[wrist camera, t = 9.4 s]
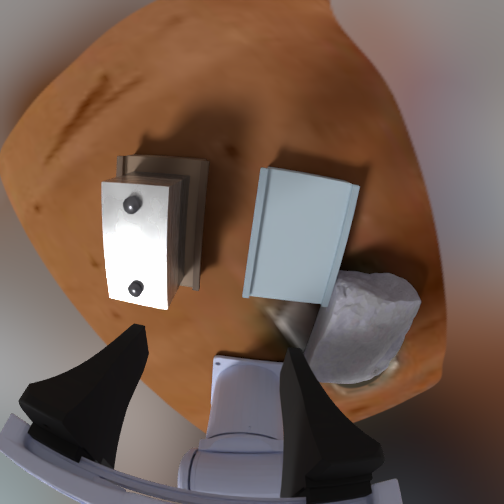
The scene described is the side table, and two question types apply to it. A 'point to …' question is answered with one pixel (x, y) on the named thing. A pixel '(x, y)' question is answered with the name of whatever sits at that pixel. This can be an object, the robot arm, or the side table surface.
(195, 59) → the side table surface
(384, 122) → the side table surface
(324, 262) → the bluegrey stand
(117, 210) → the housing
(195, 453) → the robot arm
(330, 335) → the stone block
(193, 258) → the walnut stand
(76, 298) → the side table surface
